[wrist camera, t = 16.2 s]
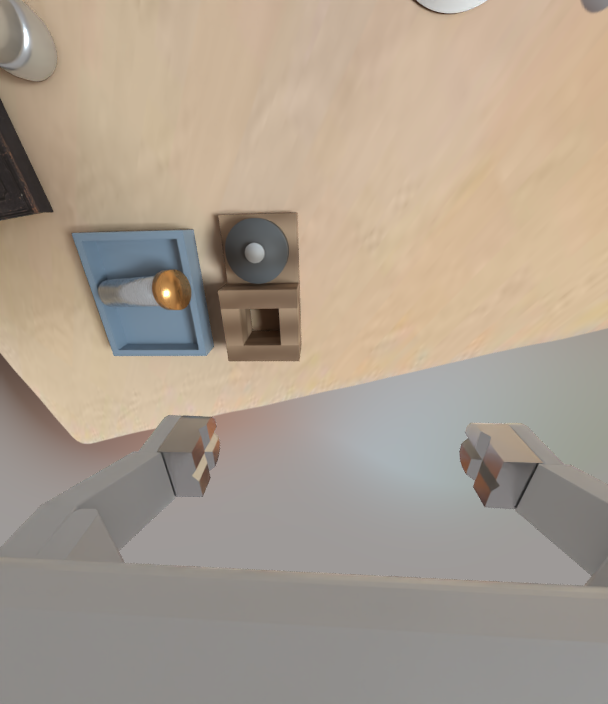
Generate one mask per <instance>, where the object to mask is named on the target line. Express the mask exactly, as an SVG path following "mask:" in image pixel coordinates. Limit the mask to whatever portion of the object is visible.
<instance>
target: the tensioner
mask: <svg viewBox="0 0 608 704" xmlns="http://www.w3.org/2000/svg"><path fill="white" fill-rule="evenodd" d="M218 217H219V224H220V231H221V239H222V246H223V253H224V260H225V268H226V275H227V282H228V284H226V285H225V286H224V287H222V288H221V289H219V290H218V295H219V302H220V308H221V315H222V321H223V328H224V334H225V340H226V347H227V353H228V360H229V361H299V359H300V352H301V314H300V281H299V249H298V217H297V213H271V214H236V215H218ZM274 308H279V320H280V330H267V331H252V322H251V313H250V309H274Z"/></svg>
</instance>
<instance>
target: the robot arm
mask: <svg viewBox="0 0 608 704" xmlns="http://www.w3.org/2000/svg"><path fill="white" fill-rule="evenodd" d="M417 1H418V2H419V3H420V4H422V5H423V6H425V7H427V8H428V9H431V10H433V11H437V12H441V13H459V12H463V11H467V10H470V9H472V8H475V7H477V6H479V5H480V4H482V3H484V2H485V1H487V0H417ZM216 427H217V425H216V421H215V418H213V417H203V416H176V415H168V416H166V417H164V419H163V420H162V421H161V423H160V424H159V425H158V427H157V428H156V429H155V431H154V432H153V433H152V434H151V436H150V437H149V438H148V440H147V441H146V442H145V444H144V445H143V446H142V447H141V449H140V450H139V451H138V452H132V453H130V454H129V455H127V456H125V457H123V458H122V459H120V460H118V461H116V462H115V463H113V464H111V465H109V466H108V467H106V468H104V469H103V470H101V471H99V472H97V473H96V474H94V475H92V476H90V477H89V478H87V479H85V480H83V481H82V482H80V483H78V484H77V485H75V486H73V487H71V488H70V489H68V490H66V491H64V492H63V493H61V494H59V495H58V496H56V497H54V498H52V499H51V500H49V501H47V502H45V503H44V504H42V505H40V507H39V508H38V509H37V510H36V511H35V512H34V513H33V514H32V515H31V516H30V517H29V518H28V519H27V520H26V521H25V522H24V523H23V524H22V525H21V526H20V527H19V529H18V530H17V531H16V532H15V533H14V534H13V535H12V536H11V537H10V538H9V539H8V540H7V541H6V542H5V543H4V544H3V545H2V546H1V547H0V704H608V484H606V483H604V482H602V481H601V480H599V479H597V478H595V477H593V476H591V475H589V474H587V473H585V472H583V471H582V470H580V469H578V468H576V467H574V466H572V465H567V464H564V463H563V462H562V461H561V460H560V459H559V458H558V457H557V456H556V455H555V454H554V453H553V452H552V451H551V450H550V449H549V448H548V447H547V446H546V445H545V444H544V443H543V442H542V441H541V440H540V439H539V438H538V437H537V436H536V435H535V434H534V433H533V432H532V431H531V430H530V429H529V428H528V427H527V426H526V425H524V424H522V423H504V424H502V423H470V424H469V425H468V426H467V428H466V432H465V433H466V435H467V437H468V439H467V440H465V441H464V442H463V443H462V444H461V448H460V451H459V452H460V462H461V465H462V468H463V470H464V471H465V473H466V475H468V476H469V477H470V478H472V479H473V480H475V482H474V485H473V488H474V489H475V491H476V493H477V494H478V496H479V498H480V500H481V502H482V503H483V505H484V507H489V508H505V509H516V512H517V513H519V514H520V515H521V516H522V517H523V518H525V519H526V520H527V521H528V522H529V523H530V524H532V525H533V526H534V527H535V528H537V530H539V531H540V532H541V533H542V534H543V535H544V536H546V537H547V538H548V539H549V540H550V541H551V542H553V543H554V544H555V545H556V546H557V547H558V548H560V549H561V550H562V551H563V552H564V553H565V554H567V555H568V556H569V557H570V558H571V559H572V560H574V561H575V562H576V563H577V564H578V565H579V566H581V567H582V568H583V569H584V570H585V571H586V572H588V573H589V574H590V575H591V578H590V579H589V580H588V581H587V583H586V584H585V585H584V586H579V585H559V584H558V585H557V584H538V583H519V582H499V581H498V582H497V581H476V580H457V579H436V578H417V577H397V576H376V575H356V574H336V573H315V572H295V571H294V572H293V571H275V570H255V569H254V570H253V569H234V568H214V567H195V566H174V565H154V564H134V563H125V562H124V560H123V558H122V556H121V554H120V553H119V550H120V549H121V548H123V547H124V546H125V545H126V544H127V543H128V542H129V541H130V540H131V539H132V538H133V537H134V536H135V535H136V534H138V533H139V532H140V531H141V530H142V529H143V528H144V527H145V526H146V525H147V524H148V523H149V522H150V521H151V520H152V519H154V518H155V517H156V516H157V515H158V514H159V513H160V512H161V511H162V510H163V509H164V508H165V507H166V506H167V505H168V504H170V503H171V502H172V501H173V500H174V499H175V496H176V497H178V496H179V497H181V496H182V497H203V495H204V493H205V490H206V488H207V485H208V483H209V481H210V473H209V471H210V470H211V469H213V468H214V467H215V466H216V463H217V461H218V457H219V452H220V441H219V437H218V436H217V435H216V434H215V433H214V431H215V430H216Z"/></svg>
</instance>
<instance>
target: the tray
mask: <svg viewBox="0 0 608 704" xmlns="http://www.w3.org/2000/svg"><path fill="white" fill-rule="evenodd" d="M72 236H73V239H74V242H75V245H76V248H77V250H78V253H79V256H80V259H81V262H82V265H83V268H84V271H85V274H86V276H87V279H88V282H89V285H90V288H91V291H92V294H93V297H94V300H95V302H96V305H97V308H98V311H99V314H100V317H101V320H102V323H103V325H104V328H105V331H106V334H107V337H108V340H109V343H110V346H111V349H112V351H113V354H114V356H207V354H208V353H209V352H210V351H211V350H212V348H213V347H214V344H213V338H212V332H211V327H210V321H209V315H208V310H207V304H206V298H205V293H204V287H203V281H202V275H201V270H200V264H199V258H198V253H197V247H196V241H195V236H194V230H154V231H116V232H84V233H72ZM163 270H178V271H180V272H182V273H183V274H184V275H185V276H186V277H187V279H188V281H189V283H190V286H191V300H190V303H189V304H188V306H187V307H186V308H184V309H182V310H166V309H164V308H162V307H161V306H147V307H116V308H113V307H109V306H107V305H105V304H104V303H103V302H102V301H101V299H100V297H99V294H98V288H99V285H100V284H101V283H102V282H103V281H105V280H110V279H122V278H135V277H147V276H155V275H156V274H157V273H158V272H160V271H163Z"/></svg>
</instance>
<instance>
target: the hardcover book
mask: <svg viewBox="0 0 608 704" xmlns="http://www.w3.org/2000/svg"><path fill="white" fill-rule="evenodd" d="M43 212H53V210H52V207H51V205H50V203H49V201H48V199H47V197H46V195H45V193H44V190H43V188H42V186H41V184H40V182H39V180H38V178H37V176H36V173H35V171H34V169H33V167H32V165H31V163H30V161H29V159H28V156H27V154H26V152H25V150H24V148H23V146H22V144H21V142H20V139H19V137H18V135H17V133H16V131H15V129H14V127H13V125H12V123H11V120H10V118H9V116H8V114H7V112H6V110H5V108H4V106H3V103H2V101H1V99H0V221H1V220H6V219H11V218H17V217H22V216H27V215H32V214H38V213H43Z"/></svg>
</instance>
